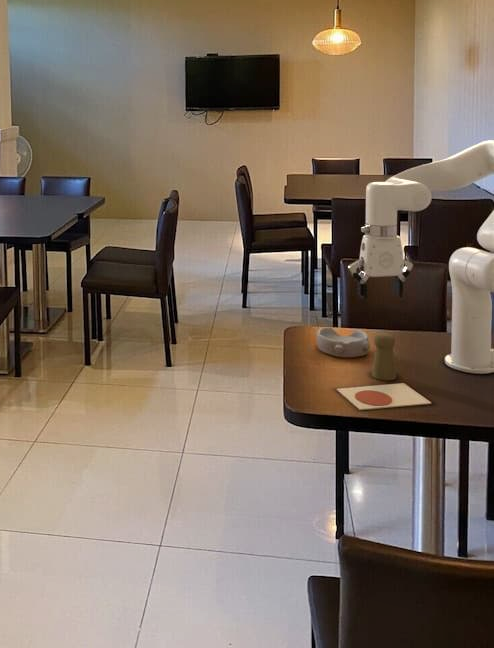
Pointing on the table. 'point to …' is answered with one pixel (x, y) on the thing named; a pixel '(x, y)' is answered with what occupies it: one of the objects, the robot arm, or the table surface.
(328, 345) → the dish
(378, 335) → the cork
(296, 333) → the table surface
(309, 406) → the table surface
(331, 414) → the table surface
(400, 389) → the placemat
